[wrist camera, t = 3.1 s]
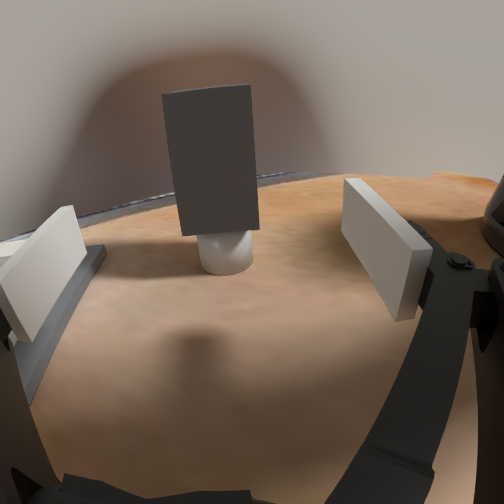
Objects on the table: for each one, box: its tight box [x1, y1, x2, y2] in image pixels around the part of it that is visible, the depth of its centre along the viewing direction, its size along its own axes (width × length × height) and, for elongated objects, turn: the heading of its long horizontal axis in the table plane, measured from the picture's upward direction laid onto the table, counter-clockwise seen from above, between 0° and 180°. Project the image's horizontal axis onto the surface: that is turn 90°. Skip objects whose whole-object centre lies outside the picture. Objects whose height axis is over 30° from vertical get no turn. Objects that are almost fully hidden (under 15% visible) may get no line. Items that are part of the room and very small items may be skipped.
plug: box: [162, 84, 260, 275], centre depth 23 cm, size 6×6×14 cm
